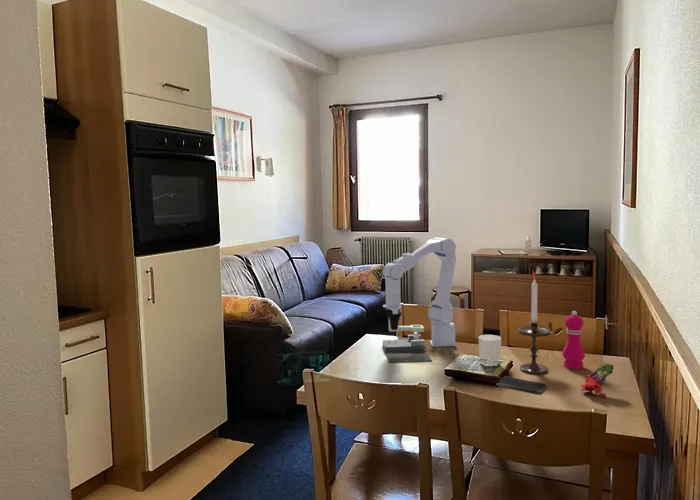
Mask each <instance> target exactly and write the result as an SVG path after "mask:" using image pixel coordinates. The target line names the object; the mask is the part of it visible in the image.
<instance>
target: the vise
mask: <svg viewBox="0 0 700 500" xmlns="http://www.w3.org/2000/svg"><path fill="white" fill-rule="evenodd" d="M412 333H413V334H407V339H387V340H386V339H385V340H384V339H382V347H383V350H384V353H385V354H398V353H407V352H408V353H409V352H410V353H424V352H427V347H426V346H427V345H426V344H425V340H424V339H423V338H422V335H421V333H420V334H419V332H412Z"/></svg>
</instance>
